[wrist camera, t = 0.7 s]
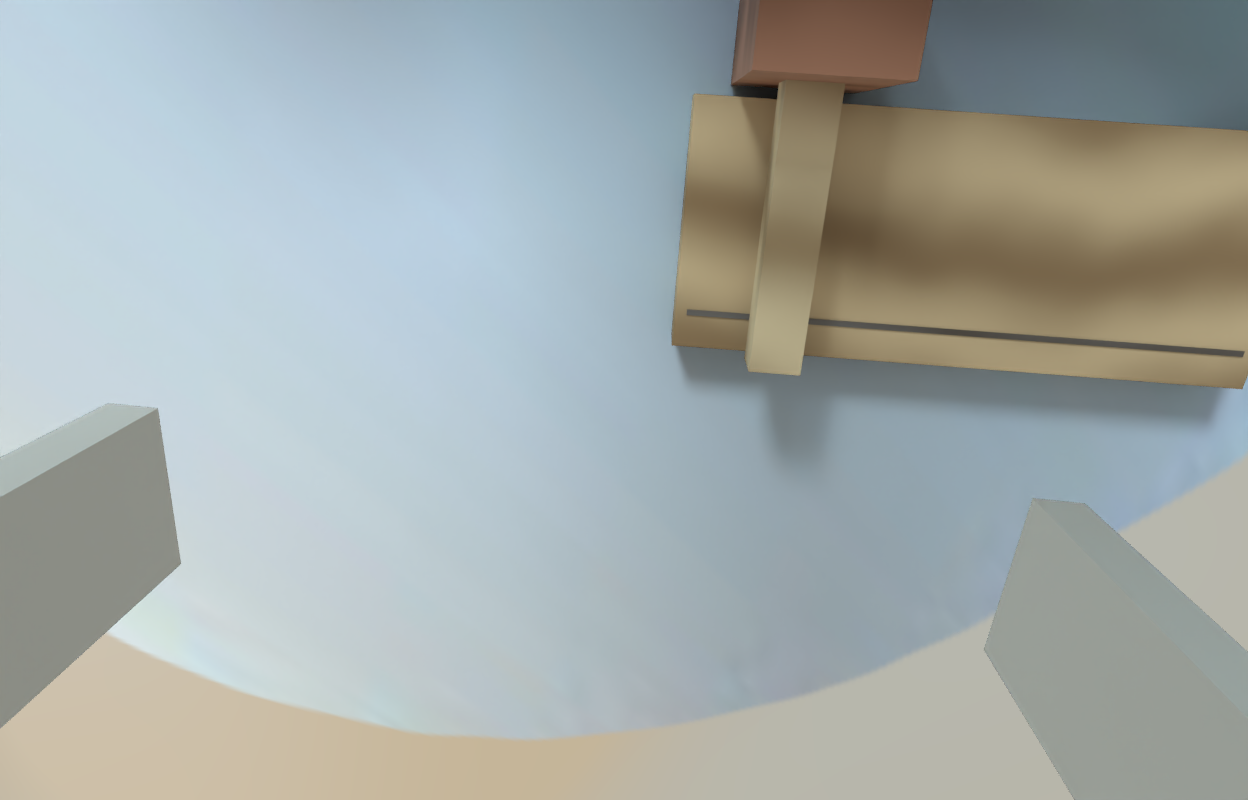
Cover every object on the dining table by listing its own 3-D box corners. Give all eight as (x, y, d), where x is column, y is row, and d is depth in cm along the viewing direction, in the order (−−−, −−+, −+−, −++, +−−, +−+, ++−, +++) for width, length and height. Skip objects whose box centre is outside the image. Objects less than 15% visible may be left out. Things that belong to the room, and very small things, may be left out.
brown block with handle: (749, -88, 28) (778, -168, 20) (882, -80, 28) (962, -158, 20) (704, 335, 34) (715, 394, 26) (814, 343, 33) (857, 405, 26)
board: (692, 95, 30) (694, 93, 28) (1294, 136, 29) (1338, 137, 27) (671, 333, 34) (671, 345, 32) (1209, 374, 33) (1243, 389, 31)
